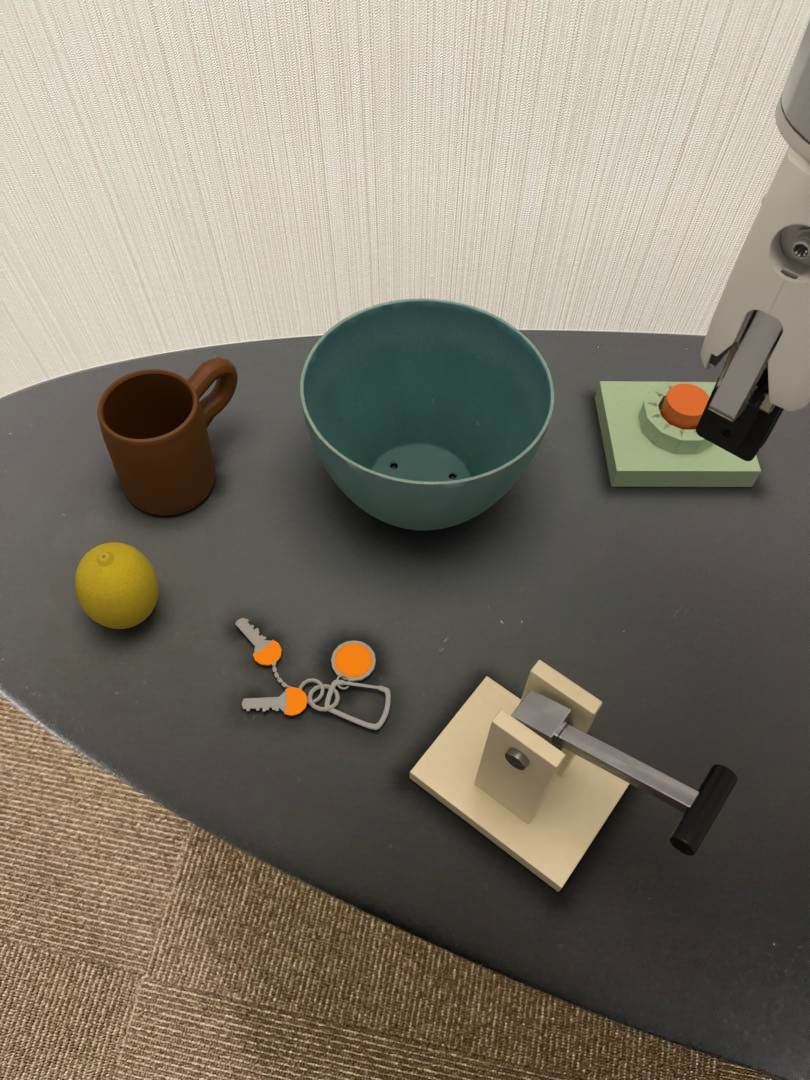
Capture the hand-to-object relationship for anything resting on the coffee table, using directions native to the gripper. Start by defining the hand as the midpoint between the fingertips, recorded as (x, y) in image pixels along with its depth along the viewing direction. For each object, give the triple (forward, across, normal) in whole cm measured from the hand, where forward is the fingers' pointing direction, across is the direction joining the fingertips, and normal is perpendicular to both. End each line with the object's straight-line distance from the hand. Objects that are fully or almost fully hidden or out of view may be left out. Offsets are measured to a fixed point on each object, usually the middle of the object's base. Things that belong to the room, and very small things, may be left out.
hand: (729, 438), depth 47 cm
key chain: (+25, -16, +17) cm, 34 cm away
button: (+21, +21, +7) cm, 31 cm away
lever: (+15, -12, -4) cm, 20 cm away
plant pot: (+25, +3, +21) cm, 33 cm away
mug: (+25, -8, +37) cm, 45 cm away
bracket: (+25, -12, +1) cm, 28 cm away
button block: (+25, +21, +7) cm, 33 cm away
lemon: (+25, -20, +30) cm, 44 cm away
